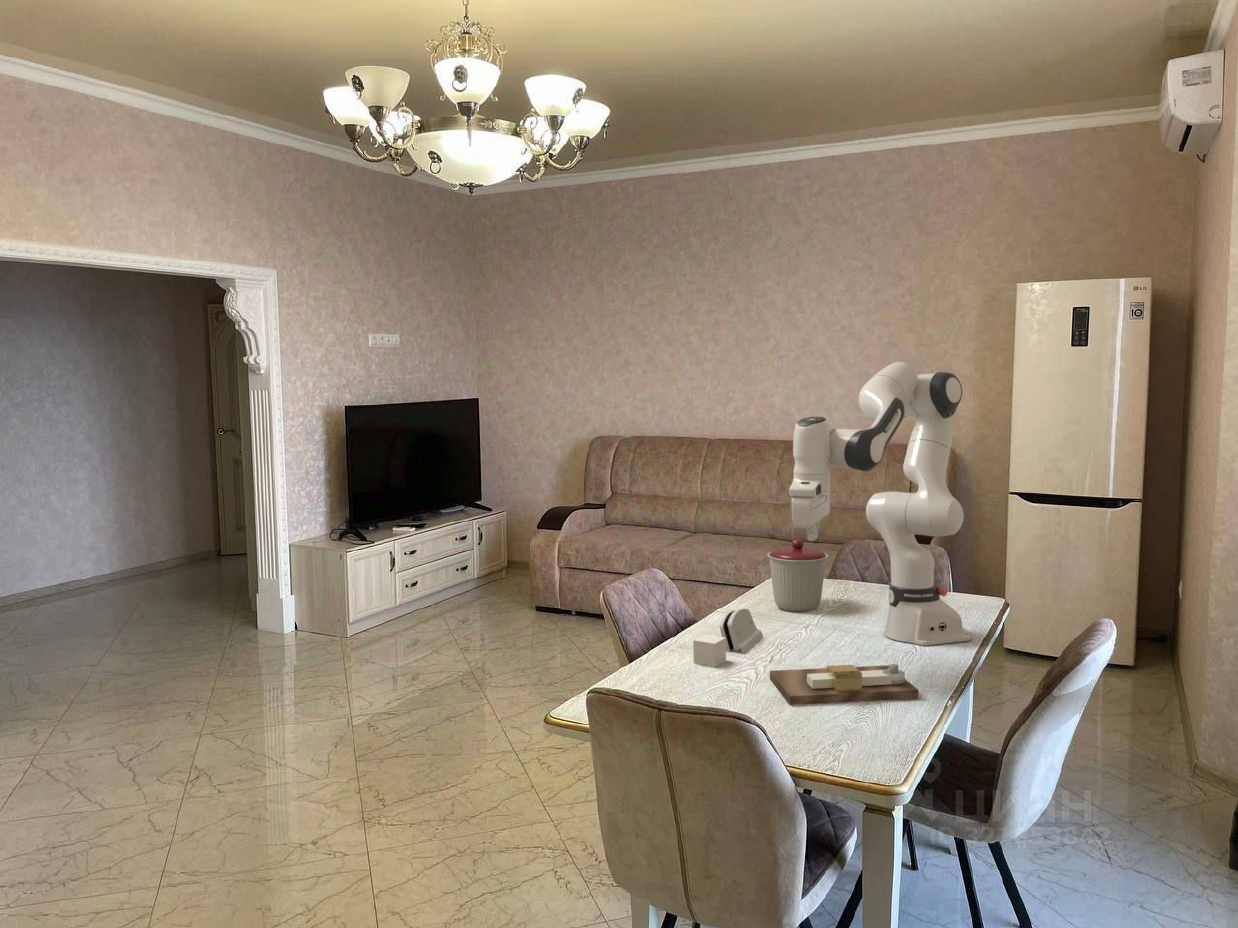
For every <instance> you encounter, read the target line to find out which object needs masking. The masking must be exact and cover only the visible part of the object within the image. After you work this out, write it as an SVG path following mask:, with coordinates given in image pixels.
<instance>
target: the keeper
mask: <svg viewBox="0 0 1238 928" xmlns="http://www.w3.org/2000/svg"><path fill="white" fill-rule="evenodd" d="M856 667H857V666H855V665H853V664H842V665H841V664H839V665H826V668H827V671H828V672H829V673H830V674H831V675H832V689H833V690H834V692H853V691H862V673H861V672H860V671H859V670H858V669H857V668H856Z"/></svg>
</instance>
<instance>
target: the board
mask: <svg viewBox="0 0 1238 928" xmlns="http://www.w3.org/2000/svg"><path fill="white" fill-rule="evenodd" d="M889 665H890V664H887V665H869V666H867V665H865V666H855V667H856V668H857V669H858V670H859V671H872V670H886V669H889ZM816 673H829V672H828V671H827V667H822V668H802V669H801V668H800V669H797V668H796V669H784V670H783V669H779V670H769V680H770V681H771V682H772V684H773V685H774V687H775V688H776V689H777V690H778V692H779V693H780V695H781V696H782V697H783V698H784V699H785V701H786V702H787V704H788V705H789V706H799V705H801V706H803V705H820V704H840V703H857V702H858V703H860V702H879V701H881V702H882V701H900V700H902V701H903V700H919V694H920V693H919V689H918V688H917V687H916V686H914V685H913V684H912V683H911V682H910V681H908V680H907V678H905V682H904V683H903V684H899V685H893V684H888V685H870V686H862V691H853V692H834V690H833V689H832V688H816V689H812V688H811V686H810V685H809V684H808V683H807V674H816Z"/></svg>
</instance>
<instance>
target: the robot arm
mask: <svg viewBox="0 0 1238 928" xmlns="http://www.w3.org/2000/svg"><path fill="white" fill-rule="evenodd" d="M961 383H962V382H961V381H960V380H959V378H958V377H957V376H956V375H955V374H954V373H952V372H947V371H946V372H945V371H938V372H936V373H933V372H931V373H923V374H917V371H916V370H915V369H914V366H912V365H910V364H909V363H907V362H904V361H895V362H891V364H888V365H886V366H885V367H884V368H882V369H880V370H879V371H878V372H877V373H875V374H874V375H873V376H872V377H871V378H870V379H869V380H868V381H867V382H865V384H864V385H863V387H862V388H861V389H860V392H859V393H858V404H859V407H860V409H861V412H862V413H863V414H864V415H865V417H866V418H867V419H869V420H870V421H872V422H873V423H872V424H871V426H870V427H867V428H860V429H854V428H853V429H852V428H837V427H836V426H833V425H831V424H829V422H828V419H827V418H826V417H823V416H810V417H804V418H801V419H800V420H798V421H797V422H796V423H795V426H794V431H793V440H792V445H793V446H792V448H793V449H792V452H793V453H792V455H793V458H794V467H793V479H792V483H791V485H790V486H789V491H788V492H789V496H790V497H791V516H792V524H793V526H794V527H793V528H795V529H802V530H803V529H805V530H806V535H807V537H806V538H807V540H808V541H812V542H814V541H815V540H816V539H818V538H819V536H818V535H819V528H820V521H821V520H823V519H825V517H827V516H829V514H830V511H831V500H830V498H831V497H830V492H831V468H830V467H833V468H840V469H841V468H843V469H852V470H856V471H861V472H869V471H872V470H874V469H875V468H876V467H877V466H878V465H879V464H880V463H881V461H882V459H883V457H884V454H885V450H886V448H887V447H888V445H889V443H890V442H891V440H892V439H893V437H894V436H895V433H896V432H897V431H898V429H899V427H900V425H901V424H902V421H903V420H904V418H906V417H914V419H915V423H914V426H913V429H912V432H911V433H910V437H909V441H908V444H907V449H906V452H905V453H906V454H905V456H904V460H903V466H902V470H903V473H904V475H905V477H906V478H907V480H910V481H911V482H912V483H914V484H915V485H916V486H918V489H917V491H916V492H907V491H906V492H904V491H883V492H882V491H881V492H876V493H874V494H873V495H871V497H870V498H869V499H868V501H867V504H866V507H865V514H866V519H867V521H868V523H869V524H870V525H871V526H872V528H873V529H875V530H876V531H877V533H879V534H880V536H881V537H882V540H883V541H884V542H885V545H886V547H887V550H888V554H889V559H890V582H889V584H888V604H889V609H888V615H887V621H886V625H885V629H884V630H883V634H884V636H885V637H887V638H889V639H891V640H894V641H898V642H903V643H911V644H915V645H918V646H933V645H934V646H935V645H936V646H937V645H942V644H950V643H951V644H952V643H960V642H969V641H972V639H973V637H972V633H970V631H968V630H967V629H966V628H964V627H963V626H964V625H963V621H962V617H961V615H960V614H959V612H958V611H956V610H955V609H954V608H953V607H952V606H950V605H949V604H948V603H946V602H945V600H942V598H941V597H946V596H947V595H948V593H949V592H948V590H947V589H946V588H944V587H939V586H937V585H935V559H934V556H933V555H932V554H931V552H930V551H929V550H928V549H926V548H924V547H923V546H922V545H920V543H918V541H917V539H916V537H915V536H916V535H918V536H920V535H921V536H928V537H945V536H954V535H955V534H957V532H958V531H959V530H960V529H961V528H962V525H963V522H964V517H965V515H964V514H965V513H964V510H963V508H962V505H961V503H960V502H959V501H958V500H957V499H956V498H955V497H954V496H953V495H952V494H951V492H950V491H949V487H948V485H947V480H946V479H947V478H946V476H947V469H948V463H949V458H950V453H951V450H952V449H951V448H952V445H953V444H952V443H953V435H954V434H953V432H954V422H953V419H952V418H951V417H952V416H953V415H954V414H955V413H956V412H957V411H956V410H957V408H958V407H959V405H960V403H961V399H962V396H963V387H962V384H961Z"/></svg>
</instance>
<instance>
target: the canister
mask: <svg viewBox="0 0 1238 928" xmlns="http://www.w3.org/2000/svg"><path fill="white" fill-rule="evenodd" d="M804 545H805V544H804V542H803V540H802V539H799V538H798V539H796V538H795V539H793V540H792V541H791V545H787V546H780V547H776V548H774V549H772V550H771V551H769V552H767V554H766V555H767V557H768V558H769V566H770V575H771V586H772V593H773V599H774V603H775V604H776V606H777V607H778V608H780V609H782V610H785V611H789V612H799V613H801V612H809V611H814V610H816V609H817V608H818V607H819V605H820V603H821V600H822V595H823V593H822V592H823V585H824V580H825V579H824V578H825V570H826V561H827V559H829V555H828V554H827V553H826V552H825V551H823V550H821V549H820V548H817V547H811V546H804Z"/></svg>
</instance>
